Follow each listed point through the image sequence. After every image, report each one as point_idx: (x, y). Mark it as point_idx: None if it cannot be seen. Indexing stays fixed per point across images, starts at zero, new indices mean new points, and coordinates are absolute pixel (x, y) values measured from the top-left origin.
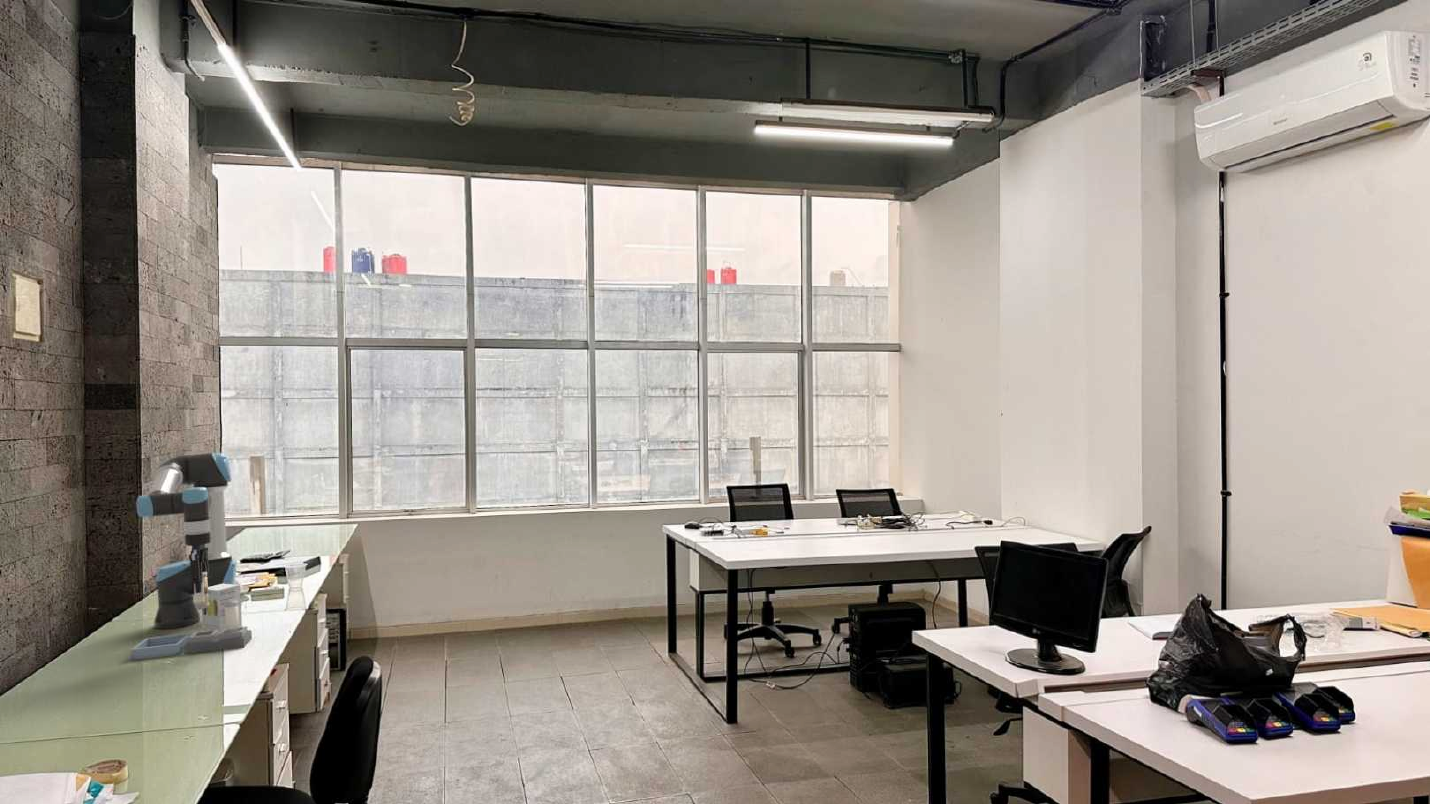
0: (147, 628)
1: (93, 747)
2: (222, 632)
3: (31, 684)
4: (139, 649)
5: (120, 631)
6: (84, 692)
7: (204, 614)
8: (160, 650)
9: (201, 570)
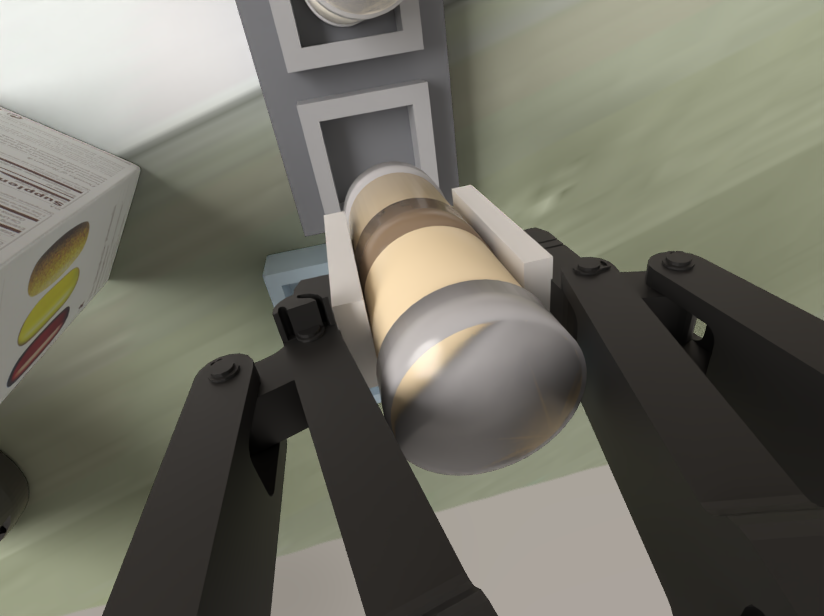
0: (20, 537)
1: None
2: (382, 38)
3: (594, 464)
4: None
5: (71, 582)
6: None
7: (66, 317)
8: None
9: (666, 367)
